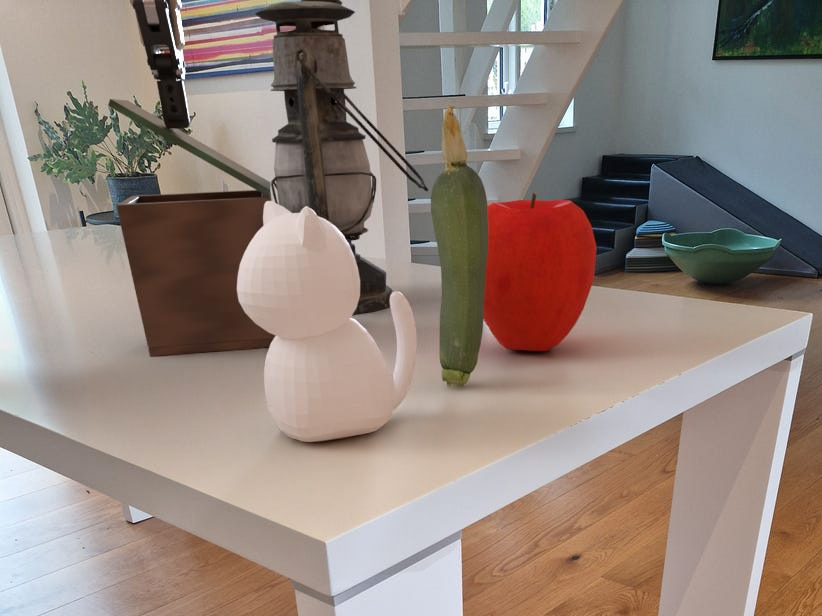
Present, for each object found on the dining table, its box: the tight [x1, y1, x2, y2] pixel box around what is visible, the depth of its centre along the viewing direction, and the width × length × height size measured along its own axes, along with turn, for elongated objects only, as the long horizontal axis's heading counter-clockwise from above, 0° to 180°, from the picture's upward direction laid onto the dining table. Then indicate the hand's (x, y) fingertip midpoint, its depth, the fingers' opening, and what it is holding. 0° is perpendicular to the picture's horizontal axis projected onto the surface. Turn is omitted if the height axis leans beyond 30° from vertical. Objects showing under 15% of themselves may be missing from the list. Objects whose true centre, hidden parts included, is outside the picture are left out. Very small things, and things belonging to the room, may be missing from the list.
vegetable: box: [430, 105, 489, 387], centre depth 67 cm, size 4×4×20 cm
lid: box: [107, 98, 271, 196], centre depth 81 cm, size 14×11×1 cm
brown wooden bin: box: [115, 189, 276, 357], centre depth 87 cm, size 14×11×13 cm
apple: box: [483, 192, 598, 352], centre depth 79 cm, size 12×12×13 cm
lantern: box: [254, 0, 429, 315], centre depth 97 cm, size 19×19×30 cm
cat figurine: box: [237, 200, 418, 443], centre depth 60 cm, size 9×12×15 cm
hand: (178, 128), depth 80 cm, fingers closed
